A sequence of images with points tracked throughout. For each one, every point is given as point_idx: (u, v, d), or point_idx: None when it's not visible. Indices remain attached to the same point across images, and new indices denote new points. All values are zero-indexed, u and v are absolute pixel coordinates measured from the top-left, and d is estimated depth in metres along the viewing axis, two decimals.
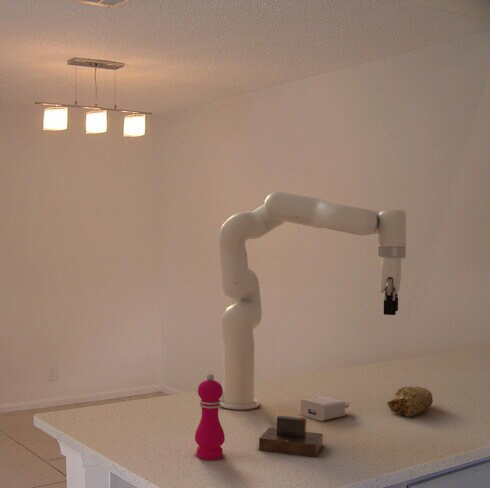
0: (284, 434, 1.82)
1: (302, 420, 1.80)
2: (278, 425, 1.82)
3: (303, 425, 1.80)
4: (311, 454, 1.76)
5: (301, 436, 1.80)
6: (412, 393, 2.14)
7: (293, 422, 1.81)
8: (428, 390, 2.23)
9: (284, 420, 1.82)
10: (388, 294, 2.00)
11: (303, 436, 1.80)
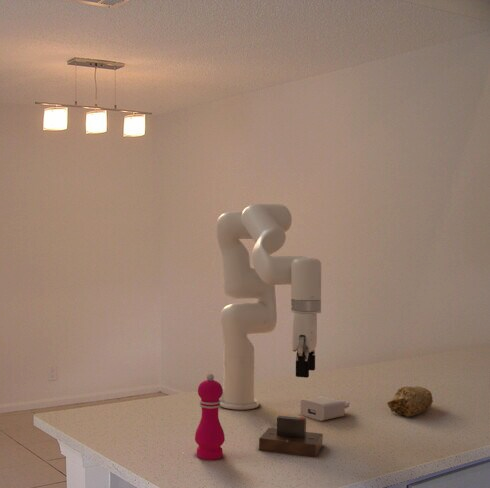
0: (284, 434, 1.82)
1: (302, 420, 1.80)
2: (278, 425, 1.82)
3: (303, 425, 1.80)
4: (311, 454, 1.76)
5: (301, 436, 1.80)
6: (412, 393, 2.14)
7: (293, 422, 1.81)
8: (428, 390, 2.23)
9: (284, 420, 1.82)
10: (299, 354, 1.78)
11: (303, 436, 1.80)
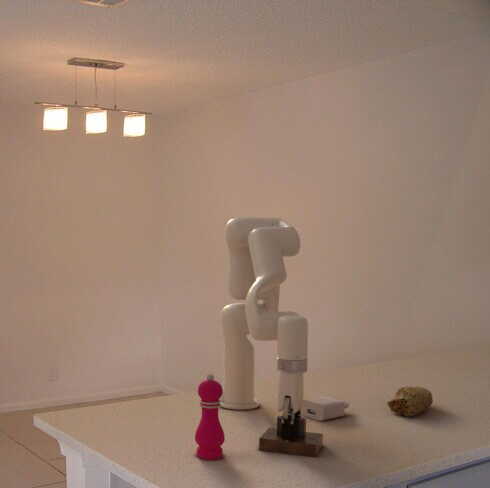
0: None
1: (302, 420, 1.80)
2: (278, 425, 1.82)
3: (303, 425, 1.80)
4: (311, 454, 1.76)
5: (301, 436, 1.80)
6: (412, 393, 2.14)
7: None
8: (428, 390, 2.23)
9: None
10: (285, 418, 1.76)
11: (303, 436, 1.80)
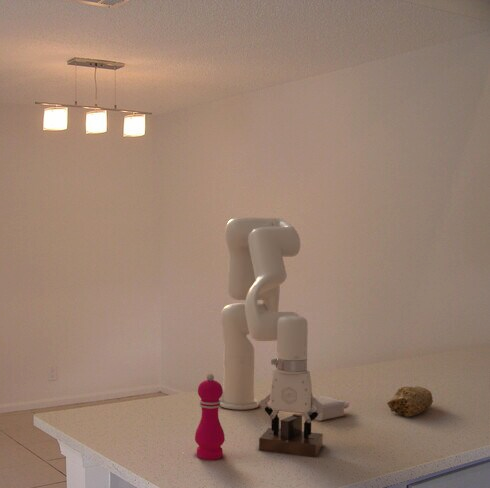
0: (292, 436, 1.81)
1: (300, 416, 1.84)
2: (289, 429, 1.79)
3: (301, 420, 1.84)
4: (311, 454, 1.76)
5: (300, 432, 1.84)
6: (412, 393, 2.14)
7: (296, 421, 1.82)
8: (428, 390, 2.23)
9: (292, 421, 1.80)
10: (317, 415, 1.80)
11: (301, 431, 1.84)
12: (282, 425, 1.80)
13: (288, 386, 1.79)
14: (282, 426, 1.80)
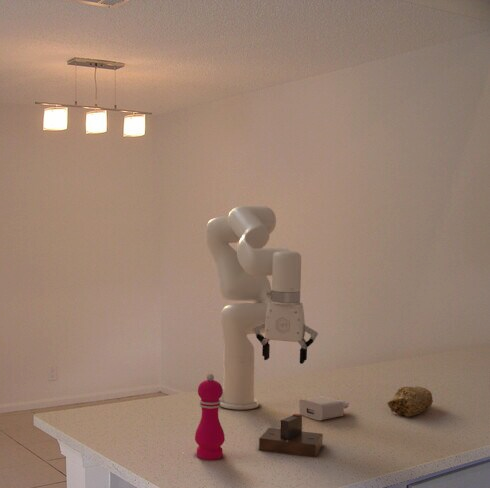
0: (292, 436, 1.81)
1: (300, 416, 1.84)
2: (289, 429, 1.79)
3: (301, 420, 1.84)
4: (311, 454, 1.76)
5: (300, 432, 1.84)
6: (412, 393, 2.14)
7: (296, 421, 1.82)
8: (428, 390, 2.23)
9: (292, 421, 1.80)
10: (313, 341, 1.91)
11: (301, 431, 1.84)
12: (282, 425, 1.80)
13: (282, 316, 1.91)
14: (282, 426, 1.80)
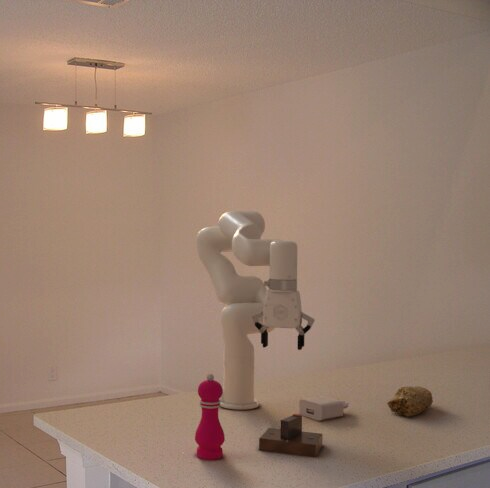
0: (292, 436, 1.81)
1: (300, 416, 1.84)
2: (289, 429, 1.79)
3: (301, 420, 1.84)
4: (311, 454, 1.76)
5: (300, 432, 1.84)
6: (412, 393, 2.14)
7: (296, 421, 1.82)
8: (428, 390, 2.23)
9: (292, 421, 1.80)
10: (310, 328, 1.96)
11: (301, 431, 1.84)
12: (282, 425, 1.80)
13: (279, 304, 1.96)
14: (282, 426, 1.80)
